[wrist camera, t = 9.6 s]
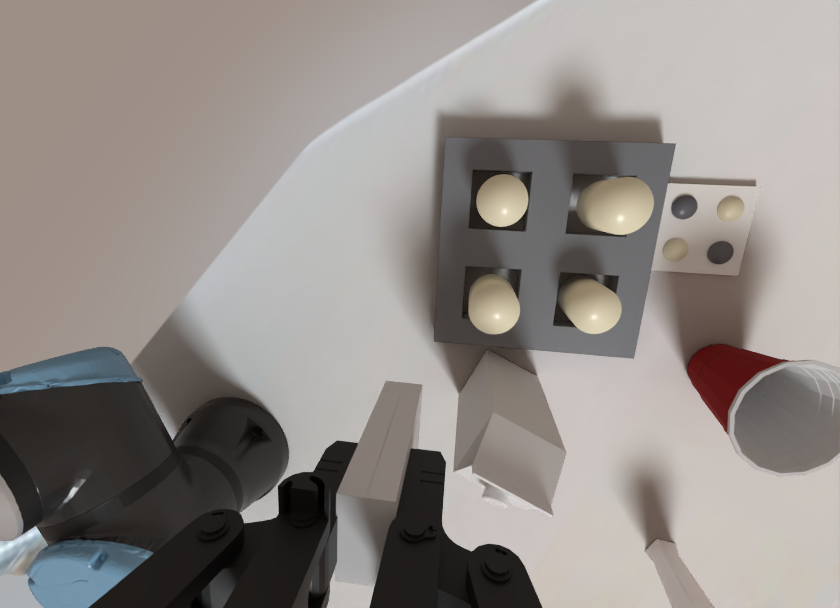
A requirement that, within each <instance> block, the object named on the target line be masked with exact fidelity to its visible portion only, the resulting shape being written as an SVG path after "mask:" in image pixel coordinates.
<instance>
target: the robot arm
mask: <svg viewBox="0 0 840 608" xmlns="http://www.w3.org/2000/svg"><path fill="white" fill-rule="evenodd" d="M142 382H143V381H142V379H141V378H140V377H137V375H136V374H135V372H134V370H133V369H132V367H131V365H130V364H129V362H128V361H127V359H126V358H125V356H124V355H123V354H122V353H121V352H120V351H119V350H117V349H114V348H110V347H98V348H92V349H88V350H83V351H79V352H75V353H71V354H67V355H63V356H59V357H55V358H51V359H48V360H43V361H40V362H36V363H33V364H29V365H25V366H22V367H19V368H15V369H12V370H10V371H5V372H2V373H0V541H11V540H14V539H16V538H18V537H19V536H21V535H22V534H24V533H25V532H27V531H28V530H30V529H31V528H33V527H35V526H36V527H37V528H38V530H39V531H40V533H41V534H42V536H43V537H44V539H45V540H46V542H47V544H48V546H47V547H45V548H44V549H42V550H41V551H40V552H39V553H38V554H37V556H36V558H35V559H34V561H33V562H32V563H31V565H30V567H29V569H28V576H29V579H28V585H29V588H30V590H31V592H32V594H33V595H34V596H35V598H36V600H37V601H38V602H39V603H40V604H41V605H42V606H43V607H44V608H326V607H327V604H328V601H329V594H330V580H331V577H332V575H333V572H334V569H335V581H340V582H346V583H353V584H360V585H366V586H373V587H374V592H373V596H372V600H371V604H370V608H542V606H541V603H540V601H539V599H538V596H537V594H536V592H535V589H534V587H533V585H532V582H531V580H530V578H529V575H528V573H527V571H526V568H525V566H524V565H523V563H522V562H521V560H520V559H519V557H518V556H517V555H516V554H514V553H513V552H512V551H511V550H509V549H507V548H505V547H502V546H500V545H494V544H486V545H482V546H478V547H477V548H476V549H475V550H473V551H472V552H471V551H469V550H467V549H464V548H462V547H460V546H459V545H457V544H455V543H454V542H453V541H452V540H451V539H449V537H448V536H447V535H446V533H445V532H444V529H443V527H442V510H443V496H444V482H445V467H446V462H445V460H444V458H443V456H442V454H441V452H438V451H429V450H421V449H418V443H419V428H420V414H421V399H422V385H421V384H411V383H402V382H392V381H386V382H385V384H384V387H383V389H382V391H381V394H380V396H379V398H378V400H377V403H376V405H375V407H374V409H373V412H372V414H371V416H370V418H369V421H368V423H367V425H366V427H365V430H364V432H363V434H362V437H361V439H360V441H359V443H353V442H345V441H336V442H335V443H333V444H332V445H331V446H329V447H328V448H327V449H326V450H325V452H324V454H323V455H322V457H321V459H320V461H319V462H318V464H317V466H316V468H315V470H314V471H313V472H302V473H298V474H295V475H292V476H290V477H288V478H286V479H285V480H283V481H282V483H281V484H280V485H279V486H278V501H279V514H278V516H277V517H276V518H274V519H271V520H266V521H261V522H253V523H245V524H244V521H243V519H242V516H241V514H239V513H240V512H242V511H243V510H244V509H246V508H247V507H248V506H249V505H251V504H252V503H253V502H254V501H257V500H259V499H261V498H262V497H264V496H265V495H267V494H268V493H269V492H270V491H271V490H272V489H273V488H274V487H275V486H276V484H277V483H278V481H279V480H280V479H281V477H282V476H283V474H284V472H285V470H286V468H287V465H288V459H289V450H288V444H287V441H286V438H285V435H284V433H283V431H282V429H281V428H280V426H279V425H278V423H277V422H276V421H275V420H274V419H273V418H272V417H271V416H270V415H269V414H268V413H267V412H266V411H265V410H263V409H262V408H260V407H259V406H257V405H255V404H253V403H251V402H248V401H245V400H242V399H238V398H218V399H214V400H211V401H209V402H207V403H205V404H204V405H202V406H201V407H200V408H198V409H197V410H196V411H194V412H193V413H192V414H191V415H190V416H189V417H188V418H187V419H186V420H185V421H184V423H183V424H182V426H181V428H180V430H179V431H178V433H177V434H176V436H175V437H174V439H173V441H172V439H171V437H170V435H169V433H168V431H167V430H166V428H165V426H164V424H163V422H162V420H161V418H160V416H159V415H158V413H157V411H156V409H155V407H154V405H153V403H152V401H151V400H150V398H149V396H148V394H147V392H146V390H145V388H144V386H143V384H142Z"/></svg>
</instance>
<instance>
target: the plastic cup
mask: <svg viewBox="0 0 840 608" xmlns="http://www.w3.org/2000/svg"><path fill="white" fill-rule="evenodd" d="M688 375H689V378H690V380H691V382H692V384H693V386H694V387H695V389H696V390H697V391H698V393H699V394H700V396H701V398H702V400H703V401H704V402H705V404H706V405H707V406H708V408H709V409H710V410H711V412H712V413H713V414H714V416H715V417H716V418H717V420H718V421H719V422H720V424H721V425H722V426H723V428H724V430H725V432H726V433H727V434H728V435H729V438H730V440H731V442H732V444H733V446H734V449H735V451H736V453H737V454H738V456H740V457H741V458H742V459H743V460H745V461H746V462H747V463H748V464H749V465H751V466H752V467H753V468H754V469H755V470H759V471H762V472H765V473H769V474H772V475H775V476H779V477H780V476H798V475H806V474H809V473H811V472H814V471H817V470H819V469H822V468H824V467H827V466H829V465H831V464H832V463H833V462H834V461H836V460H837V459H838V458H839V457H840V368H839V367H836V366H832V365H829V364H825V363H822V362H819V361H815V360H801V361H788V360H784V359H782V360H781V359H777V358H773V357H770V356H766V355H763V354H759V353H756V352H752V351H748V350H745V349H739V348H735V347H732V346H729V345H722V344H717V345H709V346H707V347H704V348H702V349H700V350H699V351H698V352H696V353H695V354H694V355H693V356H692V358H691V360H690V362H689V364H688Z"/></svg>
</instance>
